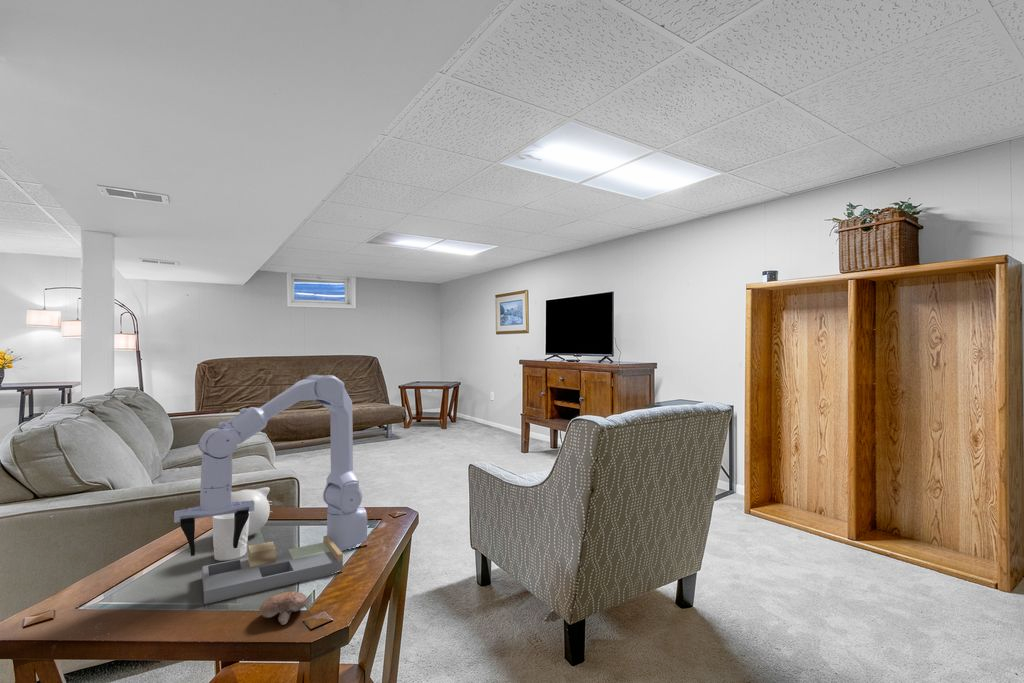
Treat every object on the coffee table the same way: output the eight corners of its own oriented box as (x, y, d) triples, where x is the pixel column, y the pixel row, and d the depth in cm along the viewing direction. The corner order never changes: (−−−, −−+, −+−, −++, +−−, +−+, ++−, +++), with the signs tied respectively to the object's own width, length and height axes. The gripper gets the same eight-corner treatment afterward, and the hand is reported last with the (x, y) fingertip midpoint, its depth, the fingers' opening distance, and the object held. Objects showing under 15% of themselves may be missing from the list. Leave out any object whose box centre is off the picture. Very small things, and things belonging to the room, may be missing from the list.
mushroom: (311, 623, 87) (313, 592, 94) (293, 599, 85) (297, 569, 92) (270, 647, 85) (276, 613, 93) (251, 623, 83) (258, 591, 91)
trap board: (327, 551, 120) (327, 535, 120) (342, 572, 108) (342, 553, 108) (202, 578, 105) (202, 559, 105) (204, 604, 94) (204, 583, 94)
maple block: (272, 554, 112) (272, 541, 112) (275, 562, 107) (276, 548, 107) (247, 559, 109) (248, 546, 109) (250, 567, 105) (250, 553, 105)
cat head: (208, 549, 121) (210, 500, 122) (213, 533, 133) (214, 488, 134) (275, 539, 128) (276, 492, 129) (274, 525, 140) (275, 482, 140)
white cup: (232, 563, 113) (233, 519, 113) (203, 560, 115) (204, 517, 115) (256, 550, 121) (257, 509, 121) (228, 548, 122) (229, 508, 123)
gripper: (252, 477, 111) (250, 538, 111) (175, 486, 103) (173, 551, 102) (256, 483, 105) (254, 547, 105) (174, 493, 97) (172, 562, 97)
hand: (214, 550), depth 103 cm, fingers open, 7 cm apart
